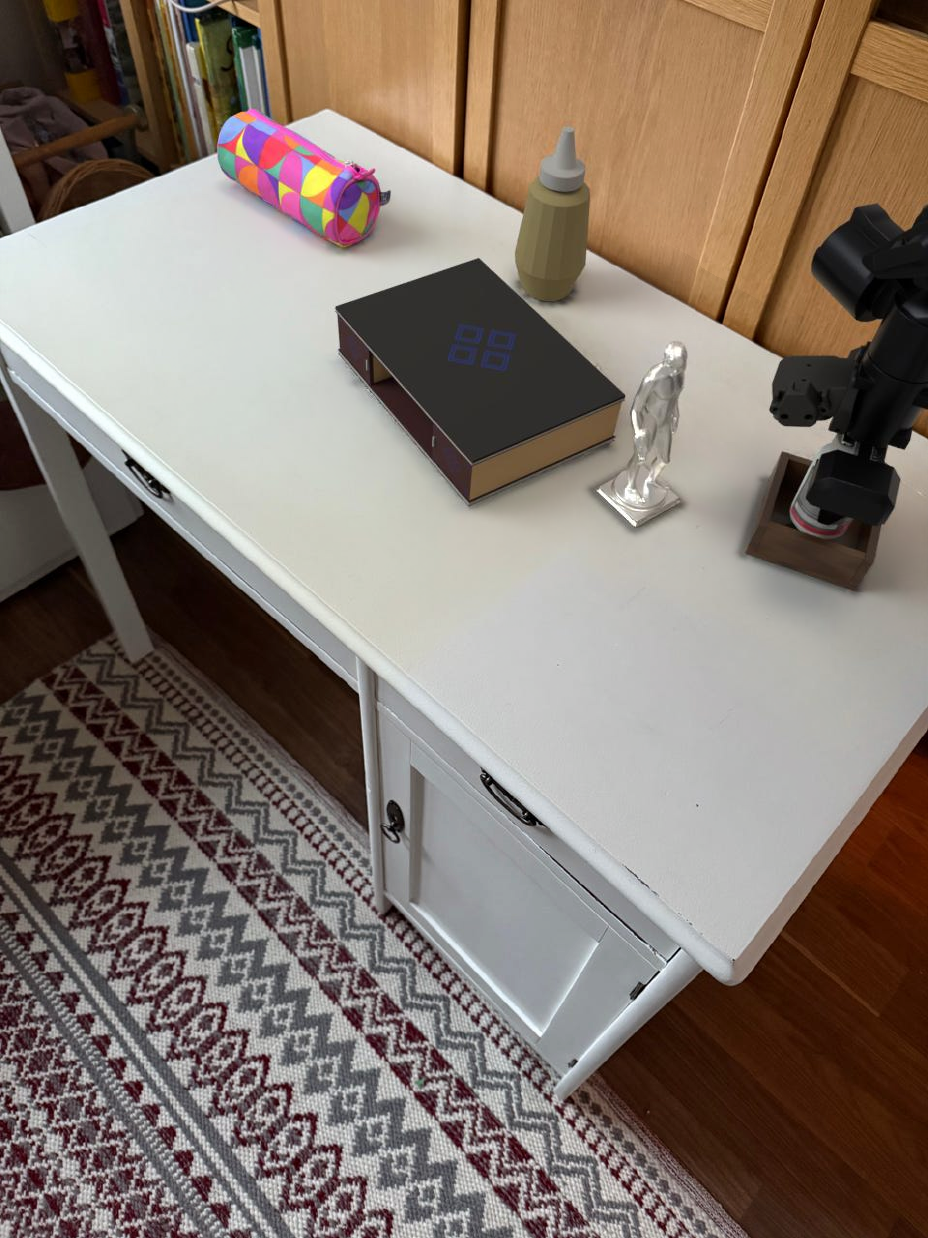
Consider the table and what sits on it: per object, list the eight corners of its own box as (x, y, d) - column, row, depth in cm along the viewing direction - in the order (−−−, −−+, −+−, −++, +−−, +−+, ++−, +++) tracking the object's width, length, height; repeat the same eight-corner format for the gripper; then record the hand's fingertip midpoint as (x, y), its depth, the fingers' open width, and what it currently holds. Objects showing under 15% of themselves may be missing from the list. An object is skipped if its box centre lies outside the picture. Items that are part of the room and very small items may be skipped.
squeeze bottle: (497, 289, 104) (512, 131, 90) (535, 258, 108) (555, 100, 94) (557, 317, 102) (582, 159, 87) (593, 283, 106) (623, 126, 91)
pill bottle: (847, 547, 81) (894, 469, 73) (787, 535, 82) (827, 456, 74) (846, 504, 84) (892, 425, 76) (788, 492, 85) (827, 412, 77)
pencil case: (396, 229, 110) (395, 155, 103) (343, 262, 106) (338, 188, 98) (270, 163, 118) (261, 90, 110) (215, 192, 113) (201, 117, 106)
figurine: (613, 540, 83) (657, 386, 68) (574, 490, 87) (608, 333, 72) (687, 512, 86) (744, 357, 71) (646, 464, 89) (693, 307, 74)
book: (467, 512, 84) (471, 461, 79) (338, 359, 96) (334, 306, 90) (613, 446, 90) (626, 394, 85) (475, 310, 102) (478, 257, 96)
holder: (871, 515, 87) (890, 485, 83) (854, 591, 81) (873, 562, 78) (768, 481, 89) (782, 450, 85) (744, 553, 83) (758, 523, 80)
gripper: (822, 265, 75) (762, 410, 88) (775, 401, 65) (715, 543, 77) (959, 302, 73) (878, 445, 86) (934, 449, 63) (846, 587, 75)
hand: (828, 500), depth 81 cm, fingers closed on pill bottle, 5 cm apart
